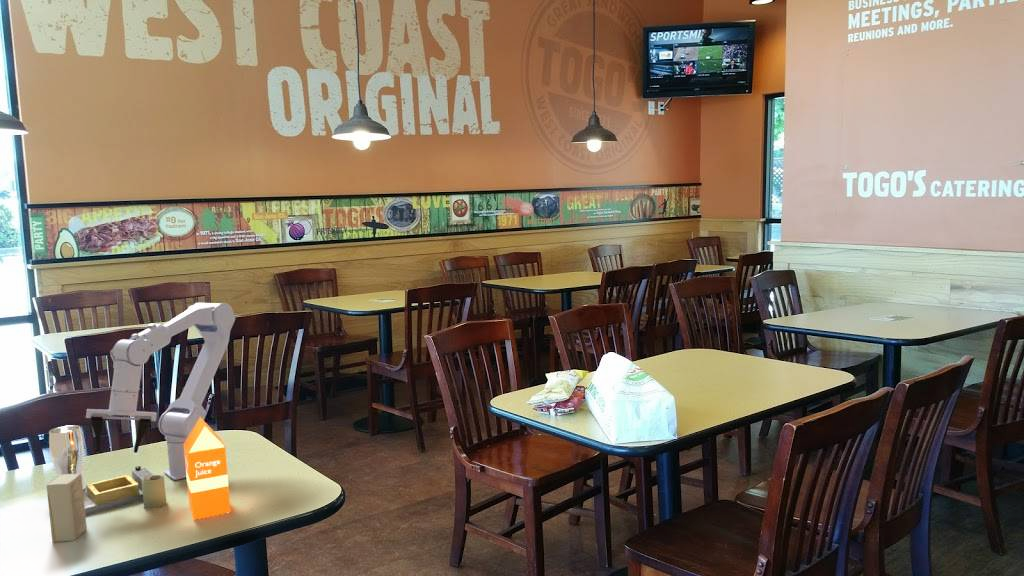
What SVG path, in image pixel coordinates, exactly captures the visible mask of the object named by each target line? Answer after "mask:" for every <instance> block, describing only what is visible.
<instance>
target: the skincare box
mask: <svg viewBox="0 0 1024 576" xmlns="http://www.w3.org/2000/svg"><path fill="white" fill-rule="evenodd" d="M46 491H47V493H46V494H47V503H48V515H49V522H50V523H49V524H50V531H51V540H52V541H51V542H52V543H55V542H56V543H59V542H72V541H73V542H74V541H75V540H76V539H77V538H78V537H79V536H81V535H82V533H83V532H85V530H87V518H86V515H85V506H84V497H83V492H84V490H83V486H82V476H81V473H77V474H60V475H59V476H57V475H56V477H55V478H53V479H52V480H51V481H50V482H48V483H47V484H46Z"/></svg>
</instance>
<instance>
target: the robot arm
mask: <svg viewBox="0 0 1024 576" xmlns="http://www.w3.org/2000/svg"><path fill="white" fill-rule="evenodd" d="M235 320H236V316H235V312H234V310H233V308H232V306H231V304H229V303H227V302H220V303H219V302H218V303H217V302H204V301H203V302H202V301H199V302H198V301H197V302H196V303H194V304H192V305H189V306H188V307H187V309H185V310H184V312H180V313H179V314H178V315H176V316H175V317H173V318H172V319H171V320H169V321H167V322H166V323H164V324H162V323H149V324H148V325H147V326H146V327H147V328H146V329H144V330H142V331H140V332H138V333H133V334H131V337H130V338H129V339H125V338H123V339H120V340H118V341H117V342H116V343H115V344H114V346H113V347H112V349H111V350H110V352H109V353H110V354H109V355H110V358H111V359H112V362H113V365H112V368H113V376H112V381H111V382H112V383H111V384H112V385H111V390H110V399H109V404H108V405H109V406H108V409H95V408H87V409H86V414H85V418H86V419H90V424H91V426H92V429H93V434H94V438H95V443H96V449H95V450H96V452H101V446H102V445H101V444H102V443H101V442H102V441H101V439H102V430H103V424H104V419H107V420H124V421H125V420H126V421H127V420H128V421H129V420H130V421H138V423H137V431H136V438H135V443H134V447H133V453H138V450H139V446H140V445H141V442H142V440H143V437H144V435H145V433H146V432H147V431H148V429H149V427H150V426H151V424H152V423H151V422H156V421H157V415H158V413H157V412H155V411H141V410H140V411H139V410H137V407H138V399H139V393H140V392H139V391H140V385H141V376H142V371H143V368H142V367H143V365H144V364H146V363H147V362H148V361H149V360H150V357H151V355H153V354H155V353H156V352H158V351H159V350H161V349H163V348H165V347H166V346H168V345H169V344H170V343H171V339H172V337H173V336H176V335H177V334H180V333H182V332H185V331H186V330H187V329H189V328H191V327H193V326H194V327H195V328H196V330H197V331H198V333H199V334H200V336H201V337H202V338H203V341H204V343H203V345H202V348H201V350H200V351H199V354H198V356H197V358H196V361H195V363H194V365H193V367H192V370H191V372H190V374H189V376H188V379H187V380H186V382H185V386H184V387H183V390H182V392H181V393H180V397H178V398H177V399H175V400H174V401H172V402H170V404H169V405H168V407H167V409H166V410H165V411H164V412H163V413H162V414H161V416H160V417H159V419H158V423H157V424H158V425H157V426H158V430H159V432H160V433H161V434H162V435H163V436H164V440H166V447H167V457H168V459H167V460H168V467H169V468H168V469H167V470H164V474H166V476H168V477H169V478H170V479H172V480H173V481H176V480H177V481H178V480H182V479H185V478H186V479H187V477H186V464H185V453H184V443H185V441H186V440H187V438H188V436H189V435H190V433H191V431H192V430H193V428H194V426H195V425H196V423H197V421H198V420H199V418H200V417H201V418H202V419H203V420H204V421H205V419H206V415H207V412H206V410H205V408H204V407H203V403H204V400H205V398H206V396H207V393H208V390H209V389H210V386H211V383H212V382H213V380H214V377H215V375H216V372H217V370H218V368H219V365H220V363H221V361H222V359H223V357H224V354H225V352H226V350H227V348H228V346H229V342H230V336H231V335H230V334H231V330H232V328H233V326H234V323H235ZM125 416H126V417H125ZM127 416H128V417H127Z"/></svg>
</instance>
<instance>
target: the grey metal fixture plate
mask: <svg viewBox="0 0 1024 576" xmlns="http://www.w3.org/2000/svg"><path fill="white" fill-rule="evenodd" d="M146 475H150V476H155V475H154V474H153V472H150V471H149V470H148V469H147V468H146V467H144V468H142V467H141V465H137V466H135V468H134V470H131V476H130V475H129V474H125V475H121V476H116V477H112V478H108V479H104V480H100V481H94V482H91V483H85V486H86V488H85V491H84V490H83V497H84V506H85V516H87V515H91V514H95V513H99V512H104V511H106V510H111V509H115V508H118V507H121V506H126V505H131V504H134V503H137V502H139V503H140V502H143V492H142V480H143V479H144V476H146Z"/></svg>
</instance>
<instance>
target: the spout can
mask: <svg viewBox="0 0 1024 576" xmlns="http://www.w3.org/2000/svg"><path fill="white" fill-rule="evenodd" d="M165 483H166V482H165V477H164V475H160V474H158V475H157V474H156V475H154V476H150V475H146V476H144V479H143V480H142V492H143V501H142V502H143V508H144V509H146V510H155V509H159V508H162V507H165V506H166V505H167V494H166V485H165Z"/></svg>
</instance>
